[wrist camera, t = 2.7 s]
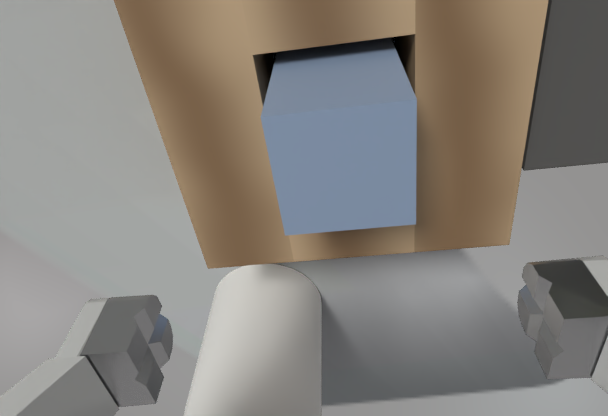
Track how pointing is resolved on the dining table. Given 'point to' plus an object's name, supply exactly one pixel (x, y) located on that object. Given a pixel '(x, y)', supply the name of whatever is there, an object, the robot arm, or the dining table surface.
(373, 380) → the dining table surface
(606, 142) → the mat
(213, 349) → the cylindrical container
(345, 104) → the blue block
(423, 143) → the pocket block
